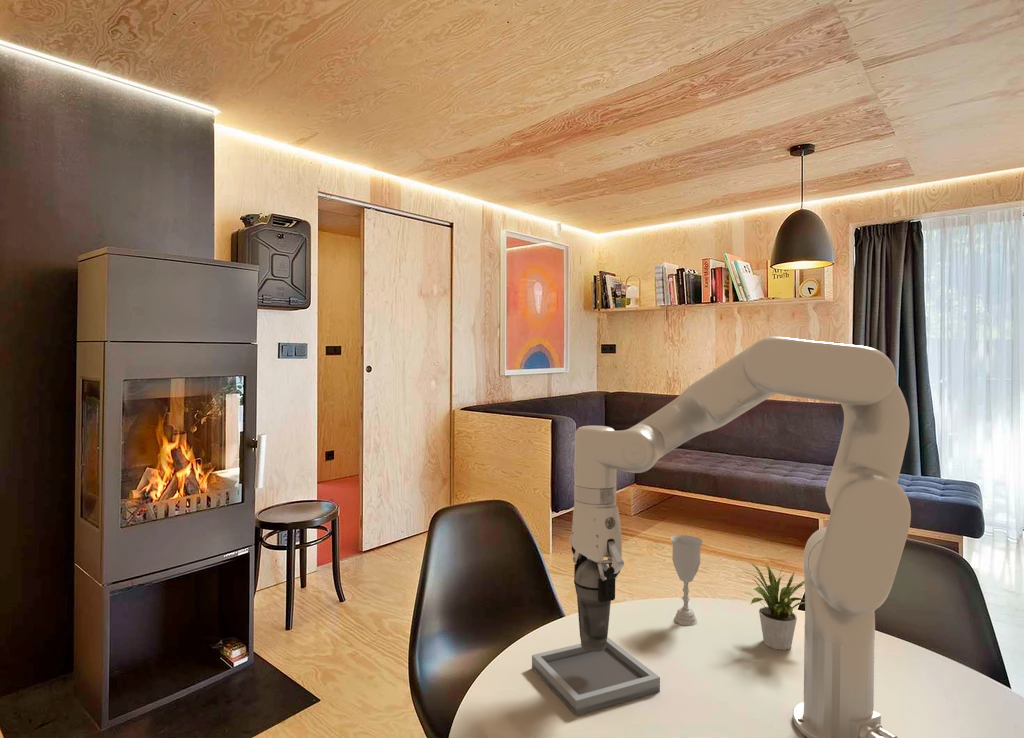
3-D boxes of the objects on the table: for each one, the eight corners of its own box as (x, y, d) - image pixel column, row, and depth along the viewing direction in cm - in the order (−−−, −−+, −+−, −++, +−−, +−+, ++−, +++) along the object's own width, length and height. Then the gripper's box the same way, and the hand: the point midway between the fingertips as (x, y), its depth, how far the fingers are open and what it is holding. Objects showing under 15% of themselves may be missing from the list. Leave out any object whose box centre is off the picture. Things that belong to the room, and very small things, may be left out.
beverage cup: (613, 657, 100) (614, 543, 100) (571, 653, 102) (572, 540, 101) (614, 638, 107) (615, 531, 107) (575, 634, 109) (576, 528, 109)
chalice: (663, 615, 131) (664, 536, 131) (689, 611, 133) (689, 533, 133) (682, 629, 124) (682, 546, 124) (708, 625, 126) (709, 543, 126)
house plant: (719, 636, 121) (720, 559, 121) (758, 620, 129) (759, 548, 129) (783, 667, 109) (784, 581, 109) (822, 647, 117) (823, 567, 117)
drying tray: (659, 691, 101) (660, 677, 101) (576, 715, 94) (576, 700, 94) (607, 649, 115) (607, 637, 115) (531, 668, 108) (531, 654, 108)
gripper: (642, 503, 98) (640, 607, 98) (587, 483, 114) (586, 573, 114) (604, 508, 95) (603, 615, 95) (553, 486, 110) (552, 578, 111)
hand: (594, 591), depth 104 cm, fingers closed on beverage cup, 7 cm apart
